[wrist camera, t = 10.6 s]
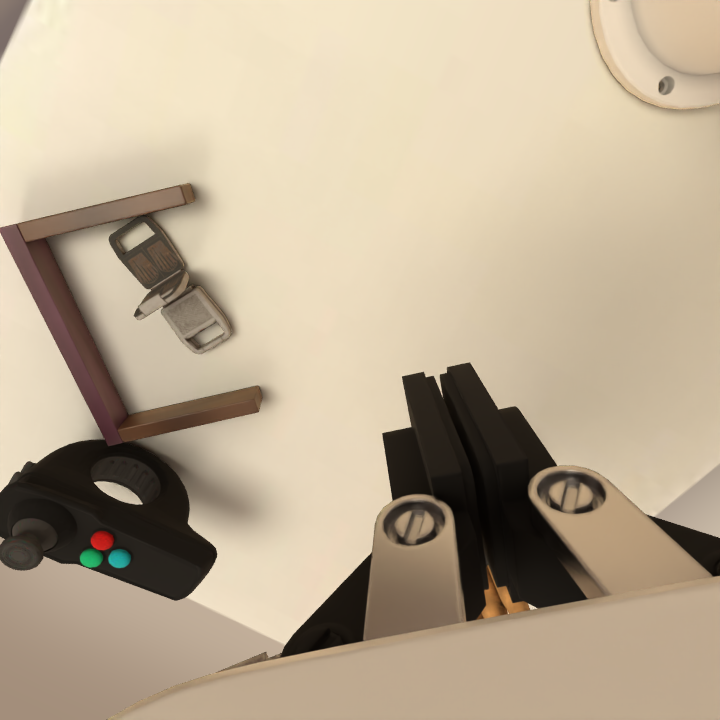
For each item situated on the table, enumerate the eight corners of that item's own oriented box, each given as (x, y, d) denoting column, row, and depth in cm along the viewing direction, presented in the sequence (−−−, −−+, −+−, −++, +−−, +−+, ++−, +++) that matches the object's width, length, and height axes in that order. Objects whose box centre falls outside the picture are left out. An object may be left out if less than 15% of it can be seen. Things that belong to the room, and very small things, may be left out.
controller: (75, 403, 32) (-25, 503, 23) (241, 484, 35) (212, 599, 26) (50, 450, 33) (-55, 563, 24) (213, 523, 37) (176, 647, 27)
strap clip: (237, 330, 31) (225, 356, 27) (198, 353, 31) (181, 382, 27) (148, 210, 28) (120, 219, 24) (107, 238, 28) (72, 251, 24)
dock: (190, 182, 27) (180, 184, 25) (262, 398, 33) (259, 412, 31) (19, 223, 27) (-3, 228, 26) (120, 430, 33) (108, 446, 31)
